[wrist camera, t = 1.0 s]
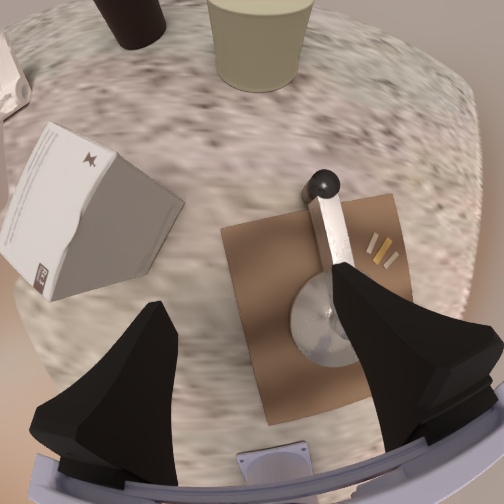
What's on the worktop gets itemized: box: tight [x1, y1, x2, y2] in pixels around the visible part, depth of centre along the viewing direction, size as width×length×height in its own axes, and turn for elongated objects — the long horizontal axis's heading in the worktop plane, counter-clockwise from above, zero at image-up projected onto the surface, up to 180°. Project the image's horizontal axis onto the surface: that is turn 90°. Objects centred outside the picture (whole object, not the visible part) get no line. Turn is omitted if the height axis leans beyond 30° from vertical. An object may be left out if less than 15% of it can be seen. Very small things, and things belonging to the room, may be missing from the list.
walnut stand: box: [221, 194, 413, 426], centre depth 24 cm, size 20×17×1 cm
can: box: [207, 0, 315, 92], centre depth 20 cm, size 9×9×12 cm
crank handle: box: [289, 169, 375, 367], centre depth 21 cm, size 17×9×5 cm, turn 13°
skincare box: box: [0, 121, 184, 302], centre depth 18 cm, size 8×6×15 cm
